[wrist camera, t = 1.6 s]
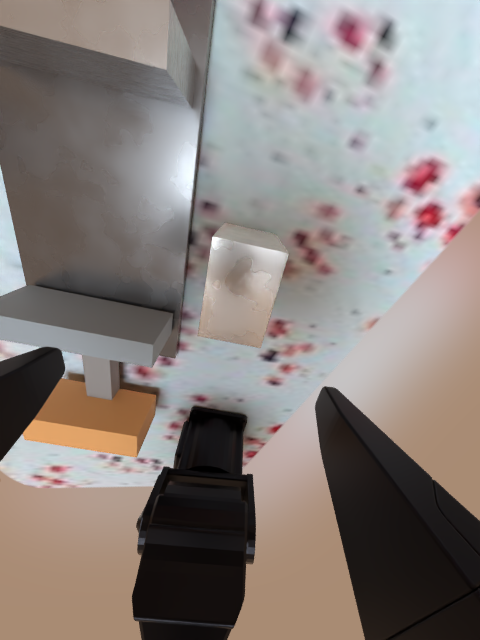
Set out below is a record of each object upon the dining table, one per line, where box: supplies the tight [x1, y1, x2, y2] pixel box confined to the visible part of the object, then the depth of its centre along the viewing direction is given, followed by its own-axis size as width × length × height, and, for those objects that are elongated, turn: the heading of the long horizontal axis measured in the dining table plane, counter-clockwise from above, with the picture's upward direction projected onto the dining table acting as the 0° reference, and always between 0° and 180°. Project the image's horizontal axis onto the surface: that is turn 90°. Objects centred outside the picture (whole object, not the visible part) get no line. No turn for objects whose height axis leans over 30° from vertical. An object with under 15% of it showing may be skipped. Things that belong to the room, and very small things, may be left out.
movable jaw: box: [0, 285, 173, 457], centre depth 21 cm, size 12×13×5 cm
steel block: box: [198, 223, 289, 348], centre depth 17 cm, size 4×6×7 cm, turn 168°
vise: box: [0, 0, 215, 358], centre depth 15 cm, size 13×24×6 cm, turn 168°
